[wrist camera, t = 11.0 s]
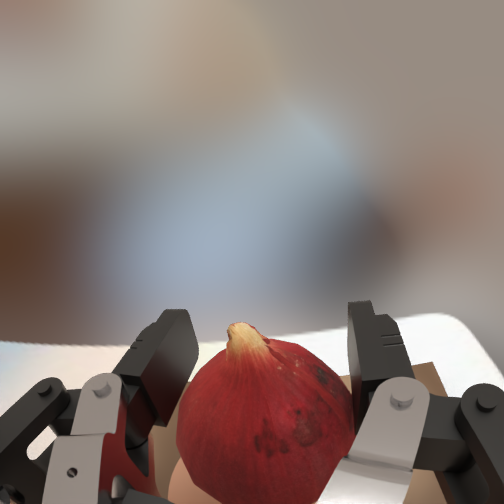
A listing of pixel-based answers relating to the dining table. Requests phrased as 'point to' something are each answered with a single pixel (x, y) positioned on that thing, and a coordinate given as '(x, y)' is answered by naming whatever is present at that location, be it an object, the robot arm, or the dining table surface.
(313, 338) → the dining table surface
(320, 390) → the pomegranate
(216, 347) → the dining table surface
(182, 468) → the serving board
